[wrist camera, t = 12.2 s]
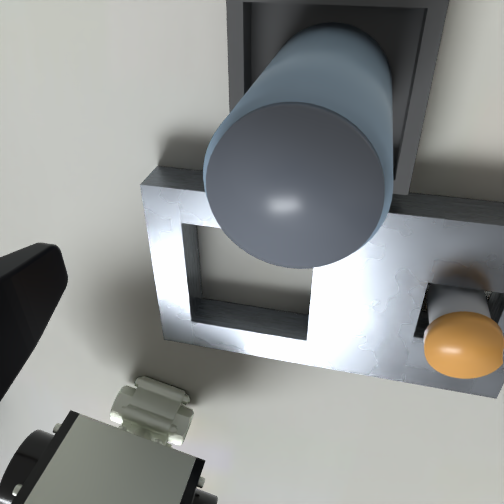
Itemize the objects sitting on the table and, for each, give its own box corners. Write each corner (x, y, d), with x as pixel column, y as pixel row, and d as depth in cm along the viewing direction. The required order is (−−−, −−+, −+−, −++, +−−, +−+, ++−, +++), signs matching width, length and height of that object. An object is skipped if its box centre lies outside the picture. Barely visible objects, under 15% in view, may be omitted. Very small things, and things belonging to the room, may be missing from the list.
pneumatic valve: (87, 346, 33) (-35, 521, 24) (246, 404, 33) (187, 607, 23) (84, 392, 36) (-23, 561, 27) (229, 445, 36) (171, 637, 27)
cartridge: (402, 25, 17) (411, 106, 10) (381, 151, 20) (376, 285, 13) (270, 19, 18) (191, 90, 11) (268, 140, 21) (204, 261, 14)
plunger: (500, 274, 22) (517, 331, 19) (481, 324, 24) (494, 384, 21) (427, 264, 23) (433, 318, 20) (414, 314, 24) (417, 371, 21)
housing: (558, 208, 20) (572, 233, 18) (490, 368, 26) (496, 398, 24) (157, 166, 23) (140, 184, 22) (176, 316, 29) (164, 339, 28)
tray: (446, -19, 16) (451, -13, 15) (406, 175, 21) (407, 195, 19) (238, -24, 18) (225, -18, 16) (241, 159, 22) (231, 176, 21)
